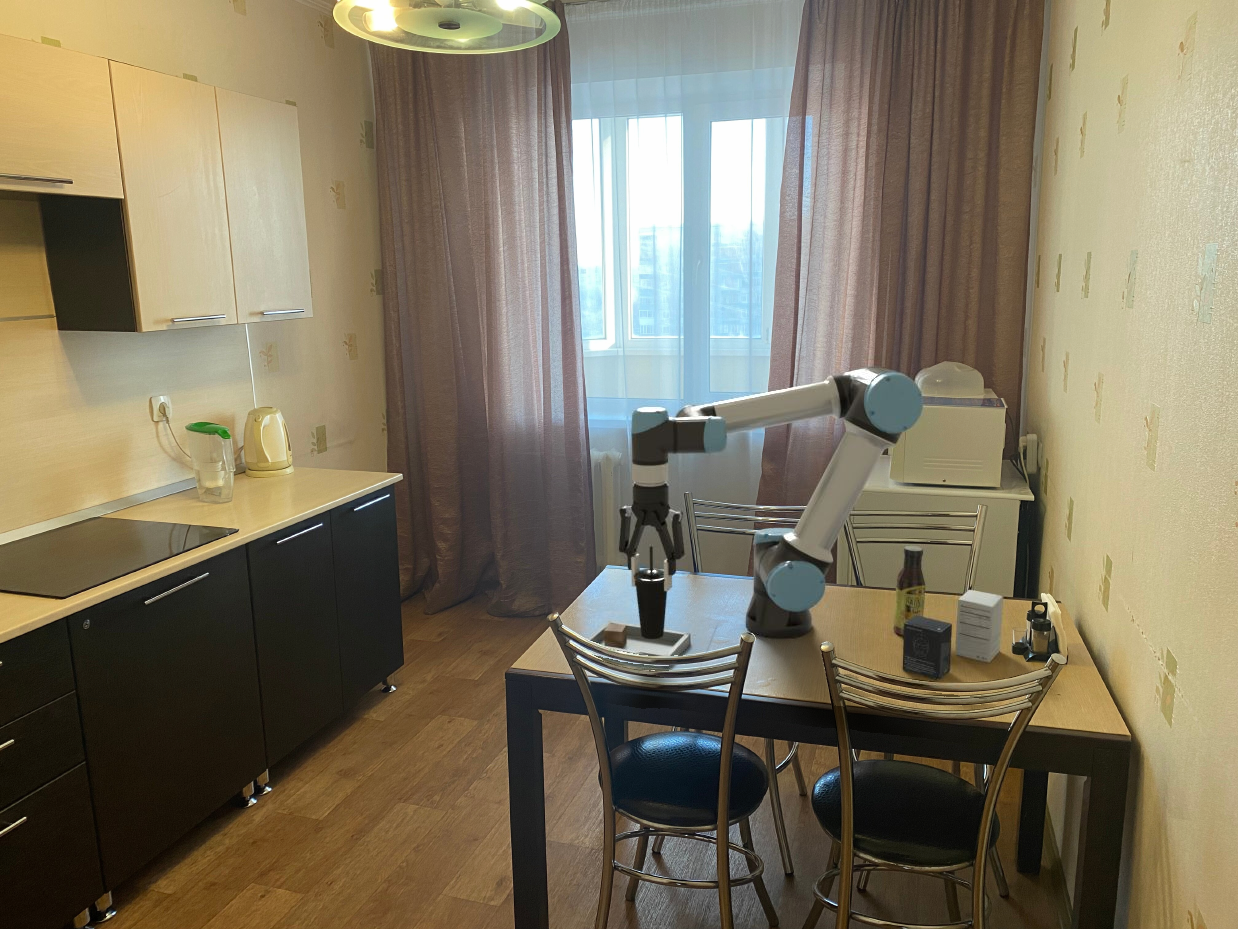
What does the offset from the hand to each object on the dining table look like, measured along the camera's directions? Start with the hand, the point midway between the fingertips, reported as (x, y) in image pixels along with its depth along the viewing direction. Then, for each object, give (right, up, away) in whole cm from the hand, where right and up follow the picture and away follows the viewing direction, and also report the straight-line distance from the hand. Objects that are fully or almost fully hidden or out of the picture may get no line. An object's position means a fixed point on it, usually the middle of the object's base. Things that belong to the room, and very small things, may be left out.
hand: (651, 586), depth 192 cm
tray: (-3, -15, +5) cm, 16 cm away
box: (+56, -16, -8) cm, 59 cm away
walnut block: (-8, -14, +7) cm, 17 cm away
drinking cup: (0, -11, +2) cm, 11 cm away
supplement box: (+69, -14, 0) cm, 71 cm away
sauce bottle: (+58, -12, +11) cm, 61 cm away
